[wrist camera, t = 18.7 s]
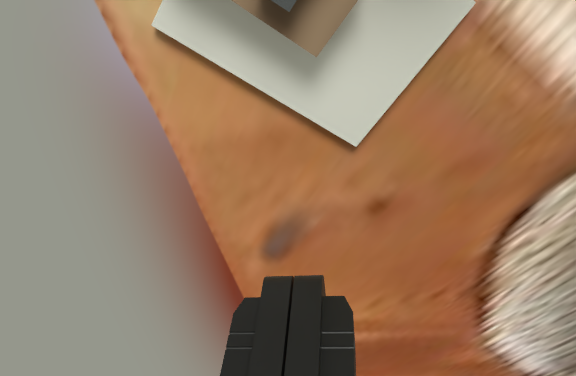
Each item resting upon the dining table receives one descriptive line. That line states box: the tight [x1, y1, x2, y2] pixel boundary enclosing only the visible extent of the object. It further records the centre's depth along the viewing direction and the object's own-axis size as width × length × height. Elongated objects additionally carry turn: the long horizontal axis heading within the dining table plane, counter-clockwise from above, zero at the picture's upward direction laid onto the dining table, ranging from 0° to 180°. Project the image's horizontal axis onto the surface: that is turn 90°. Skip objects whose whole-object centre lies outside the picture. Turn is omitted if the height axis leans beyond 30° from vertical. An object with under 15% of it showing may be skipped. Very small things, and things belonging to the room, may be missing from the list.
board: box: [152, 0, 476, 147], centre depth 40 cm, size 20×15×1 cm
